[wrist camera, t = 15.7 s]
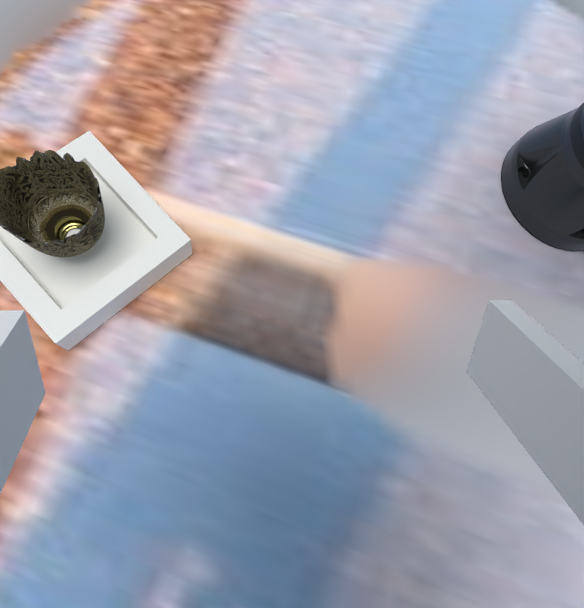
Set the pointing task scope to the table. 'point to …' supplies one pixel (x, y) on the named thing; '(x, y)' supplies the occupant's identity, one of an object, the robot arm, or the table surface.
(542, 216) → the robot arm
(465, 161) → the table surface
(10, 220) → the filigree tulip shade
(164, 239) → the seat plinth
